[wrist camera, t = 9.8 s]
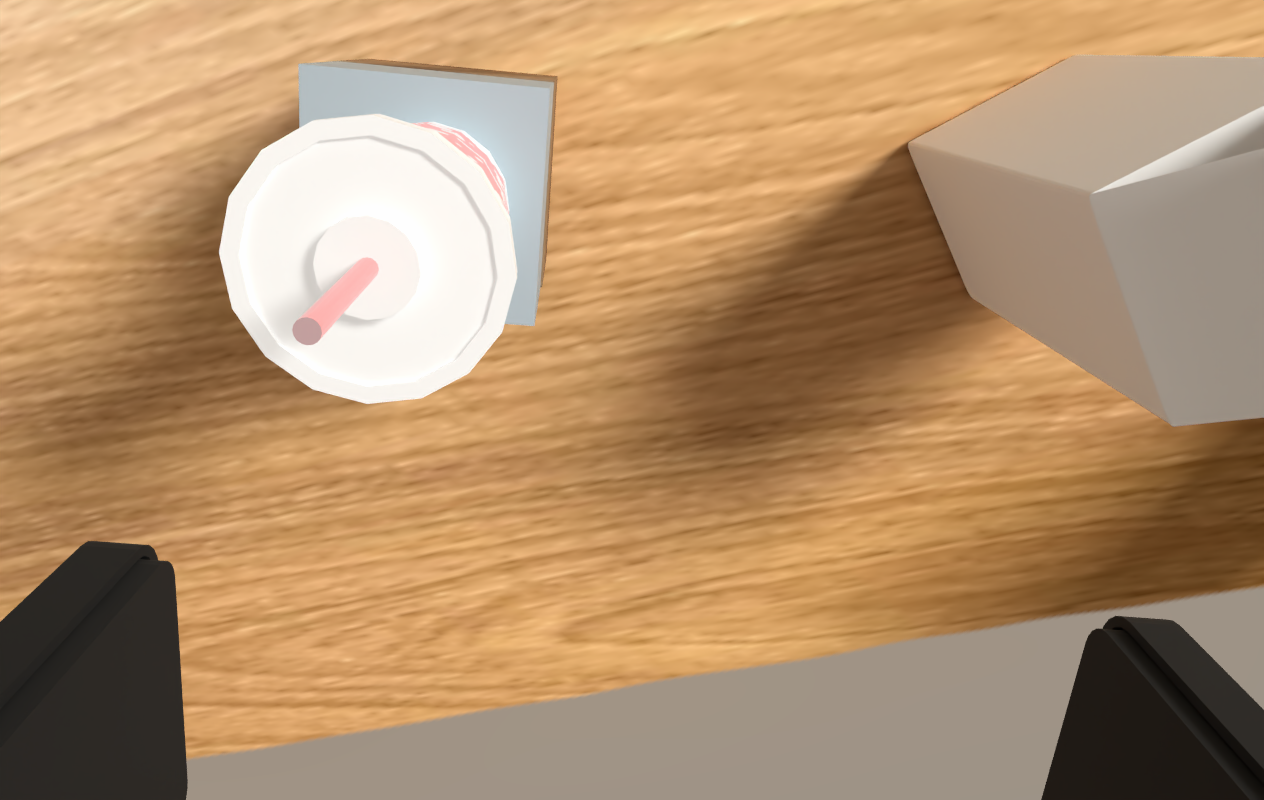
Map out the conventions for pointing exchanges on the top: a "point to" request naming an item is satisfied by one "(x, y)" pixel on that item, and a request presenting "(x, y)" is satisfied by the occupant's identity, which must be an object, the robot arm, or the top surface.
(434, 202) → the beverage cup
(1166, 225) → the milk carton
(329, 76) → the top block
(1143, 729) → the robot arm
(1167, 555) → the top surface
